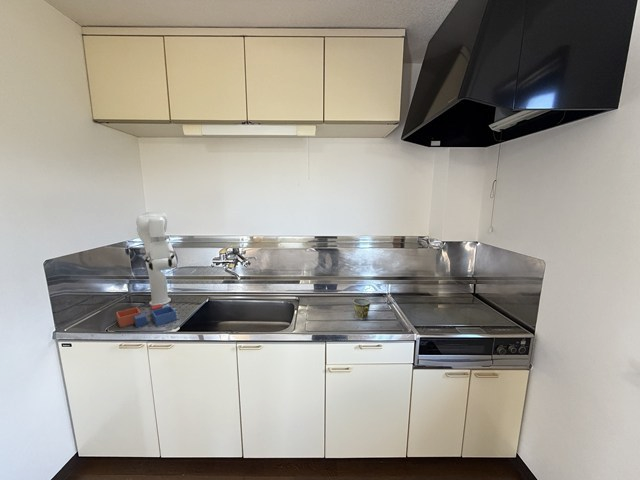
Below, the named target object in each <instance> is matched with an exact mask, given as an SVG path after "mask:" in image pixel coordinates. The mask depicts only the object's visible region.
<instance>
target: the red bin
mask: <svg viewBox="0 0 640 480" xmlns="http://www.w3.org/2000/svg"><path fill="white" fill-rule="evenodd" d="M140 314H142V312H141V311H140V309H139V307H137V306H136V307H132V308H127V309H123V310H119V311H115V315H116V321H117V323H118V326H119V328H123V327H128V326H130V325H135V321H134V316H136V315H140Z"/></svg>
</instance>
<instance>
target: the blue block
mask: <svg viewBox="0 0 640 480" xmlns="http://www.w3.org/2000/svg"><path fill="white" fill-rule="evenodd" d="M134 321H135V323H134V325H135V327H136V328H140V327H143V326H147V325H148V319H147V315H146V314H145V313H141V314H140V315H136V316H134Z"/></svg>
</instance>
